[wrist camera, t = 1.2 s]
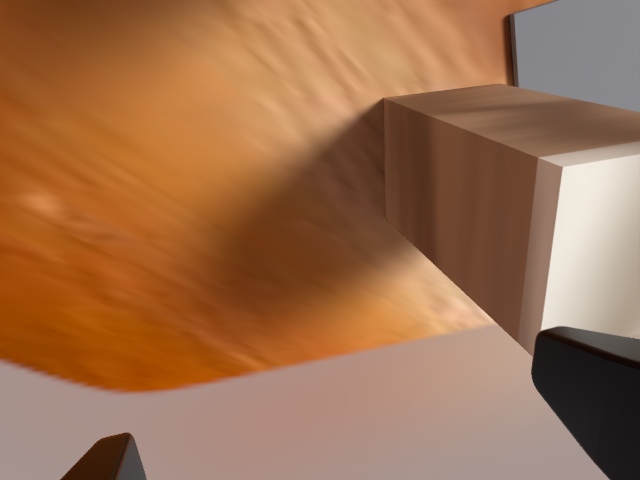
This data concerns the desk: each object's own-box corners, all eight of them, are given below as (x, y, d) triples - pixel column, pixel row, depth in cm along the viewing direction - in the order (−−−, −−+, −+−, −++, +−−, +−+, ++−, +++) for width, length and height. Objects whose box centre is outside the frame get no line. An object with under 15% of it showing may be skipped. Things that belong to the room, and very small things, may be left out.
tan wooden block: (385, 218, 21) (537, 360, 13) (383, 97, 19) (562, 167, 11) (491, 200, 23) (699, 318, 14) (499, 83, 20) (751, 135, 12)
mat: (524, 240, 24) (528, 242, 24) (509, 14, 19) (514, 14, 19) (685, 180, 25) (691, 181, 25) (706, -46, 21) (713, -47, 20)
